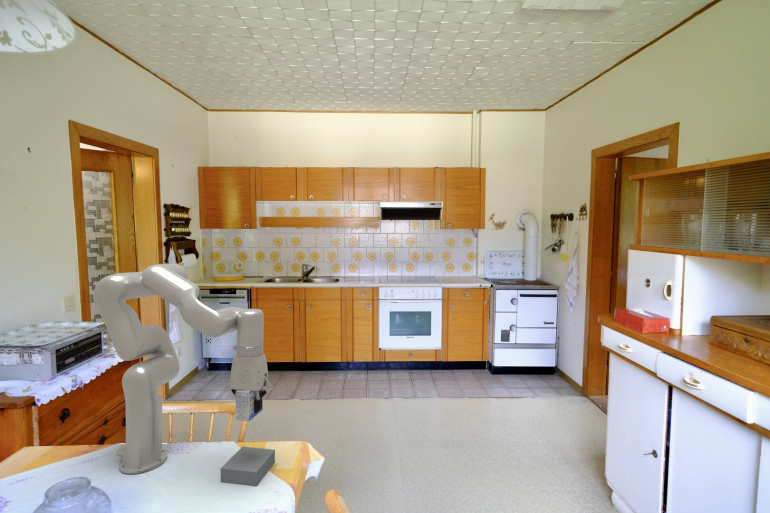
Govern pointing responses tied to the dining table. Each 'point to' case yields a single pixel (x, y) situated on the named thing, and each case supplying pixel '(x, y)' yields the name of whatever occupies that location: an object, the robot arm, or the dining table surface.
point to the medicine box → (245, 405)
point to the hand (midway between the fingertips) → (249, 410)
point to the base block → (248, 466)
